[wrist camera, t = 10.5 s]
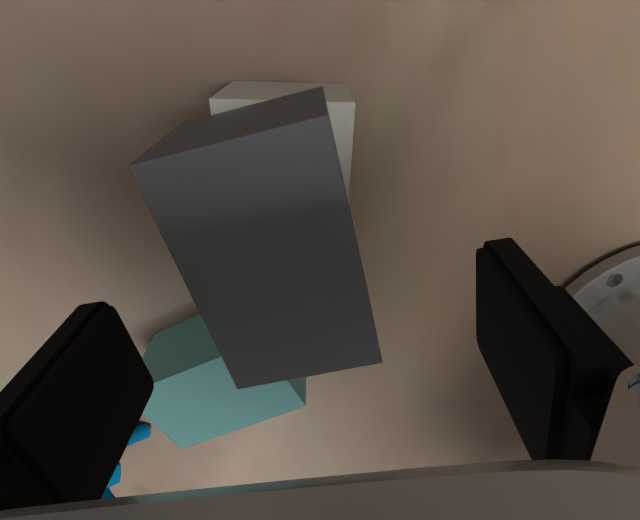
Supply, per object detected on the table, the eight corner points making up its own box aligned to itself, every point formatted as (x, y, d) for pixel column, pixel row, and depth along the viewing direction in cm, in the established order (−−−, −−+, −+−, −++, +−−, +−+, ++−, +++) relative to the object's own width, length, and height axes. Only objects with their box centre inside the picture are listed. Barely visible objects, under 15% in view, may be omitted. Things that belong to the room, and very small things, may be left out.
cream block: (233, 80, 18) (209, 98, 14) (345, 83, 18) (355, 102, 14) (245, 239, 22) (228, 292, 18) (336, 241, 22) (342, 293, 18)
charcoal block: (183, 122, 14) (127, 165, 10) (322, 85, 14) (327, 115, 9) (255, 302, 18) (237, 389, 14) (365, 279, 18) (382, 362, 13)
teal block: (267, 283, 24) (258, 341, 19) (306, 342, 26) (305, 405, 22) (155, 331, 25) (123, 395, 21) (201, 382, 28) (181, 449, 23)
